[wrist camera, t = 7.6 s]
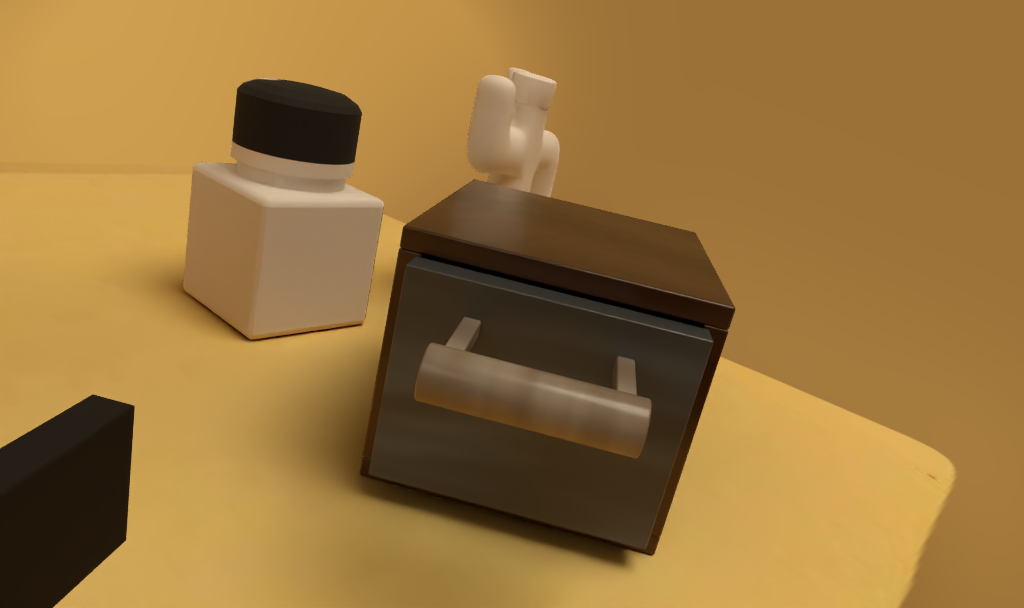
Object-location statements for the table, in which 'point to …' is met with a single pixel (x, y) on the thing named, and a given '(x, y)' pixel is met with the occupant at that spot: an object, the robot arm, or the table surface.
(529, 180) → the figurine
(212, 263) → the medicine bottle
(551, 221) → the cabinet
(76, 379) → the table surface
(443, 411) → the grey pull-out drawer
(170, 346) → the table surface
